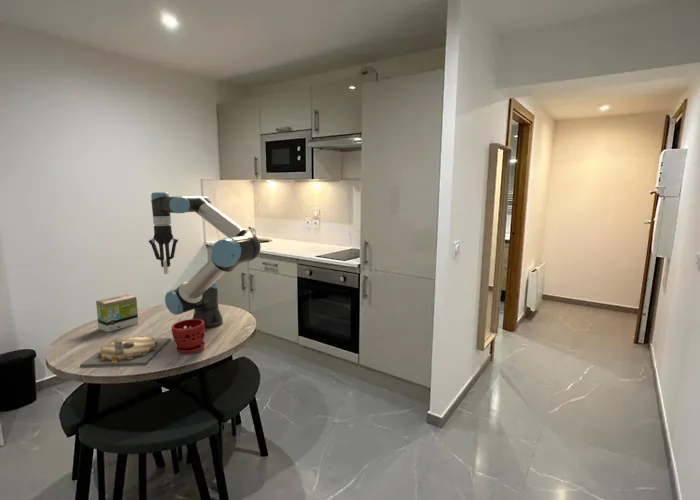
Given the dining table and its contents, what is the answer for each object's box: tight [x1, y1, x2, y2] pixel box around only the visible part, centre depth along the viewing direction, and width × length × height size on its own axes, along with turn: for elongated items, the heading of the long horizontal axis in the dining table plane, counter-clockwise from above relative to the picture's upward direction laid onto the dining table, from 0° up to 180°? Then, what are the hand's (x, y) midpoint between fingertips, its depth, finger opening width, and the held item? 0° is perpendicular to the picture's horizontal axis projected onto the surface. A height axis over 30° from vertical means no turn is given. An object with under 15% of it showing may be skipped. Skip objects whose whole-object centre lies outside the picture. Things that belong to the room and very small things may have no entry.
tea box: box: [95, 293, 139, 333], centre depth 193 cm, size 15×10×15 cm
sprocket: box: [97, 335, 158, 361], centre depth 162 cm, size 22×22×6 cm
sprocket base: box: [79, 337, 172, 368], centre depth 163 cm, size 25×25×2 cm
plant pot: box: [171, 318, 206, 355], centre depth 165 cm, size 13×13×12 cm
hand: (166, 273), depth 185 cm, fingers closed
